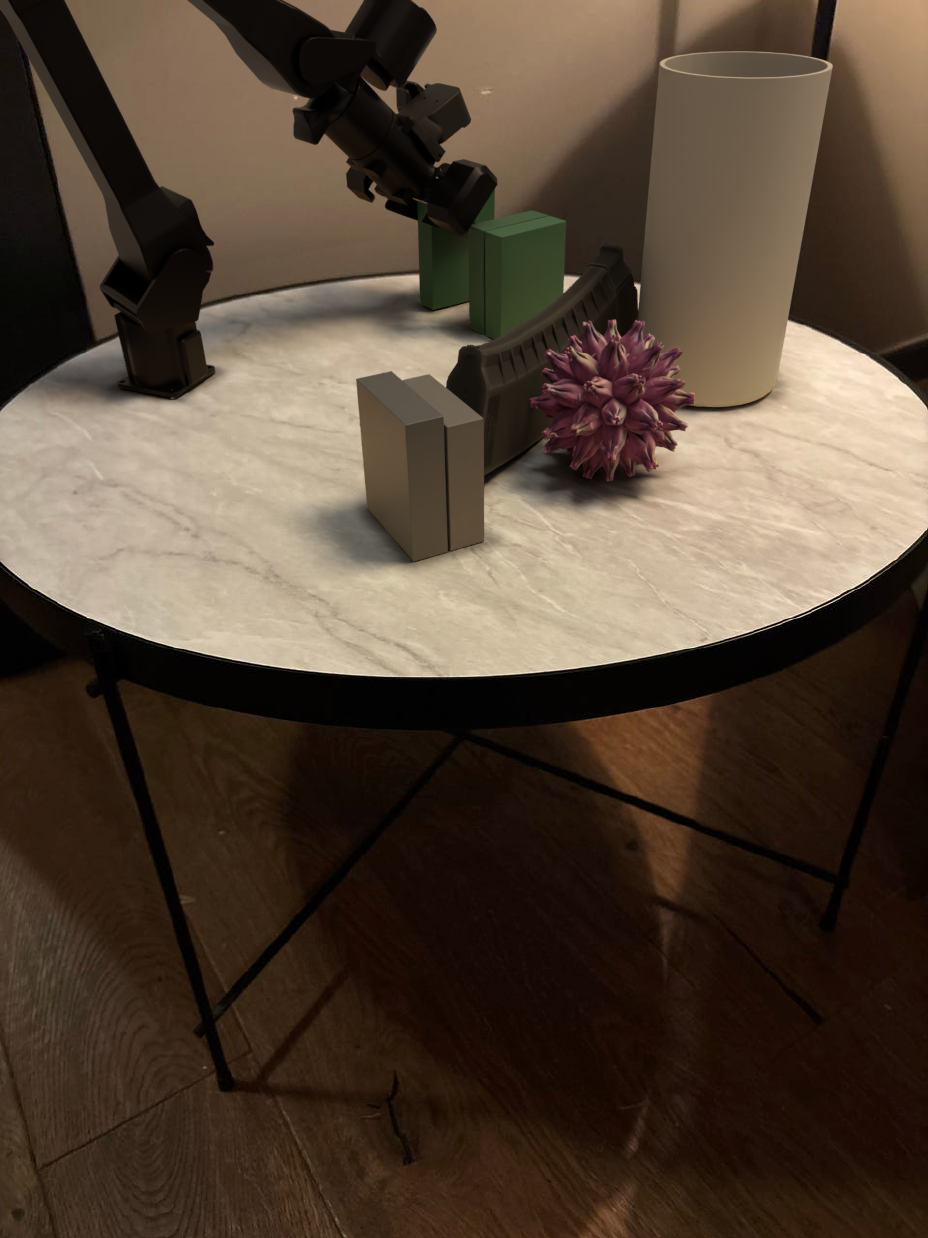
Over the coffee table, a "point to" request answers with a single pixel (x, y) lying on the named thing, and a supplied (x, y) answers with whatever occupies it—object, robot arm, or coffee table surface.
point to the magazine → (539, 355)
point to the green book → (445, 261)
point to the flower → (612, 400)
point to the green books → (514, 270)
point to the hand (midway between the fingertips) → (467, 232)
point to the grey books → (422, 463)
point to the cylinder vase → (729, 214)
